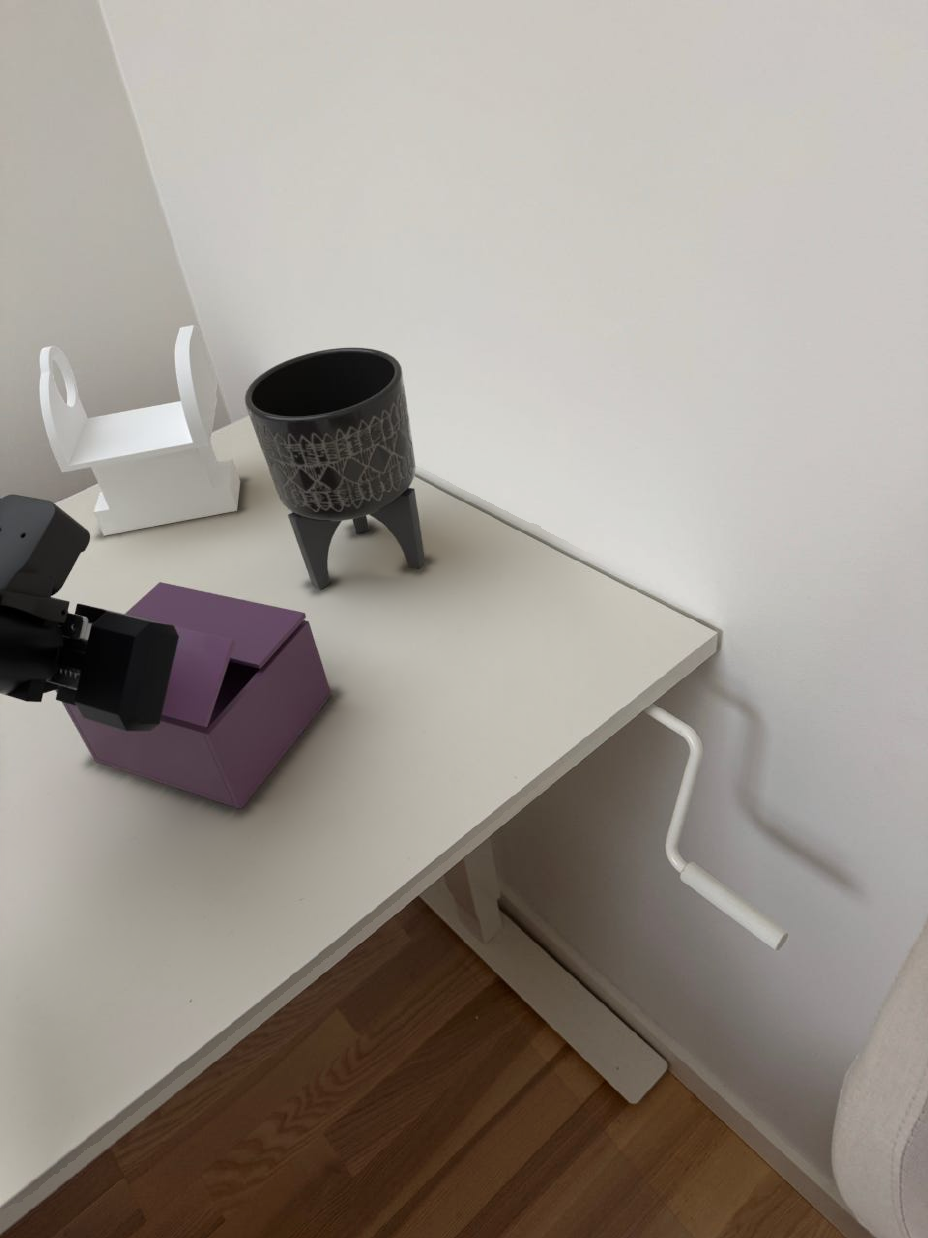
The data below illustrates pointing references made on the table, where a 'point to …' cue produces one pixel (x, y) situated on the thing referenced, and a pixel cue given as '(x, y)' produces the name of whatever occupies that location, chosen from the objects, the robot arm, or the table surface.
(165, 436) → the tape dispenser
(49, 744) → the table surface
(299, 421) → the planter
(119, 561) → the table surface
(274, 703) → the box
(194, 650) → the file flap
